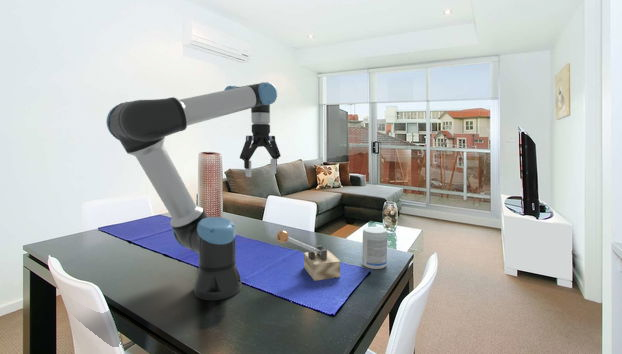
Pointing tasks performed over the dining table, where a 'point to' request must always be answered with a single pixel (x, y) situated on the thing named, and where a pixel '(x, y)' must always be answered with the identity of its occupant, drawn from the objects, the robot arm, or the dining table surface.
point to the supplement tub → (374, 247)
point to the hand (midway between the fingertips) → (261, 175)
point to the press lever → (294, 241)
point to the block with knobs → (321, 264)
